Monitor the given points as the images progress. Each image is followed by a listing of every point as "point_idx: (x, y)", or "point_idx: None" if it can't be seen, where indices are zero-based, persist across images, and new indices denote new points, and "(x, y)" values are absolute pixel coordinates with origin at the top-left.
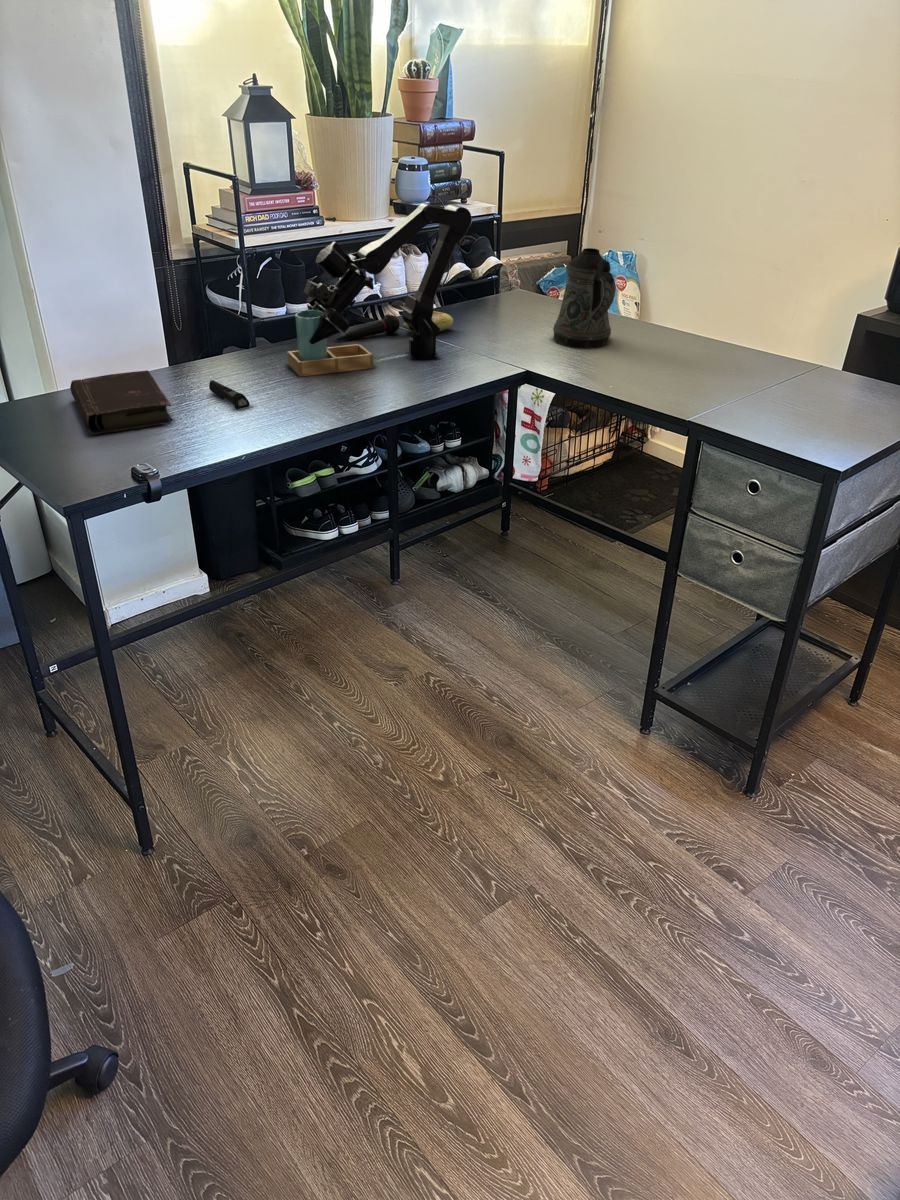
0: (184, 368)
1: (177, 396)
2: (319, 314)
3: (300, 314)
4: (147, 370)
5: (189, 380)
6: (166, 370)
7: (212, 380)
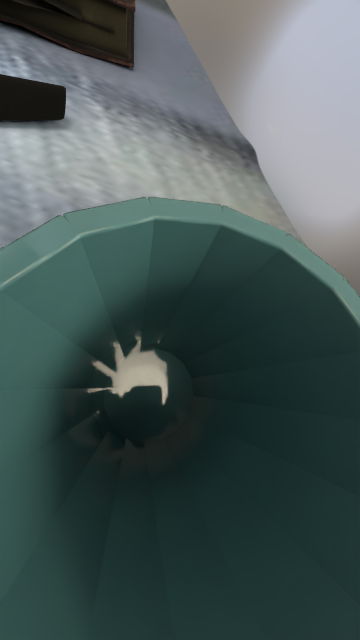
0: (239, 155)
1: (77, 76)
2: (304, 632)
3: (312, 314)
4: (133, 6)
5: (167, 130)
6: (235, 133)
7: (59, 86)
